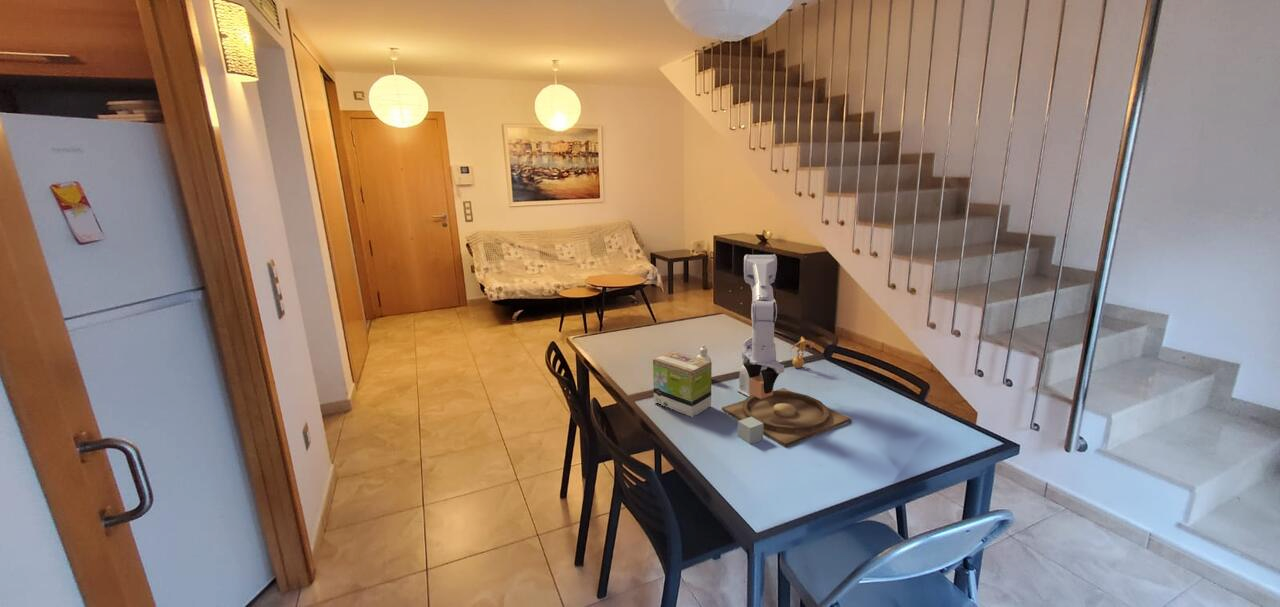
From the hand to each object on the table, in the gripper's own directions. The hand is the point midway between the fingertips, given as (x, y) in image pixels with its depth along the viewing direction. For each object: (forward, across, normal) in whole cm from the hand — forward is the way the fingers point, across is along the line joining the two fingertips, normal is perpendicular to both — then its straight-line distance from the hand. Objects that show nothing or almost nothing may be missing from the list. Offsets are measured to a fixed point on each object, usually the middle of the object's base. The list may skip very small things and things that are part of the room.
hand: (761, 389), depth 144 cm
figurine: (+9, -20, +37) cm, 43 cm away
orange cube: (+1, 0, 0) cm, 1 cm away
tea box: (+9, -19, -14) cm, 25 cm away
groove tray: (+8, +3, +6) cm, 11 cm away
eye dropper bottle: (+9, -32, +4) cm, 33 cm away
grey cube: (+8, +7, -11) cm, 15 cm away
